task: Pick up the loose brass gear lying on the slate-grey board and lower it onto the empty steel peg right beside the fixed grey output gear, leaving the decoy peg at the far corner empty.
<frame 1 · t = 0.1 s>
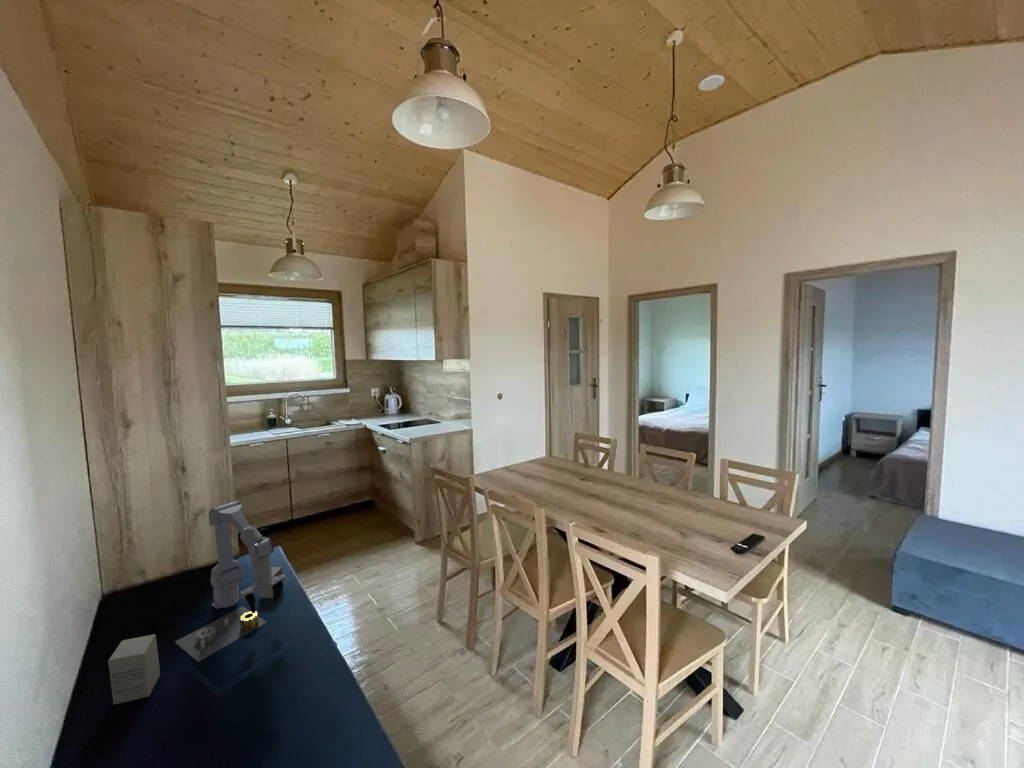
hand: (264, 606, 159), 10 cm above the table, fingers open, 7 cm apart
brass gear: (249, 625, 161), point 1 cm above the table, touching gear board
gear board: (222, 635, 158), on the table
small box: (272, 595, 181), on the table
supplement box: (137, 690, 134), on the table
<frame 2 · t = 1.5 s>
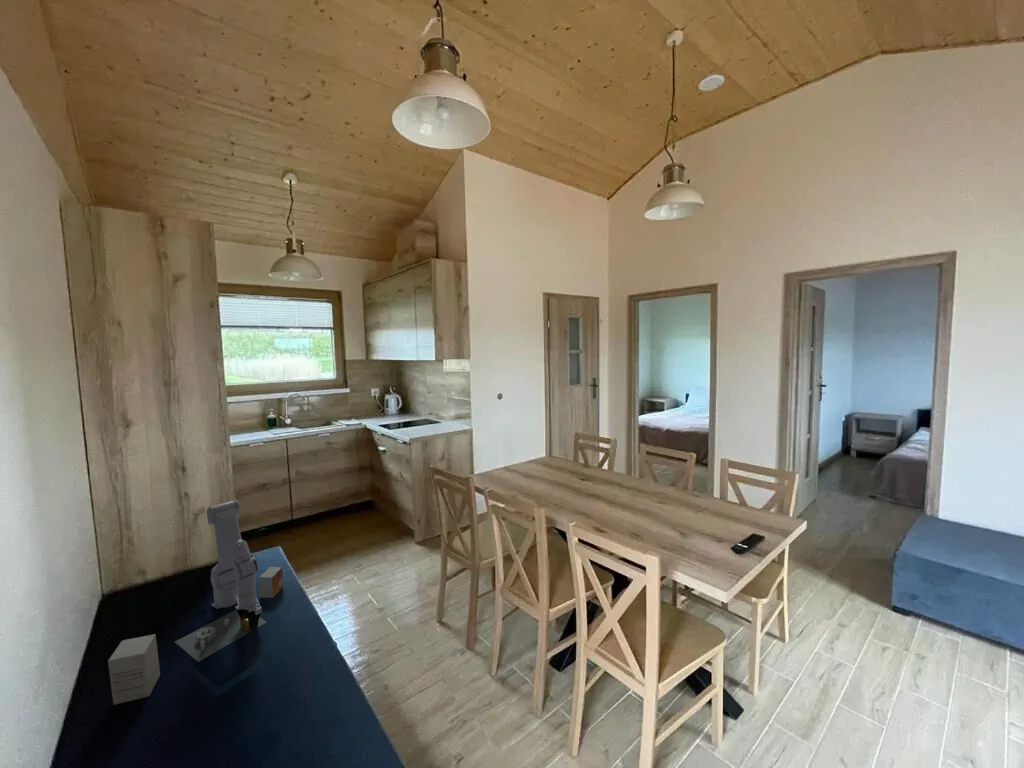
hand: (249, 624, 161), 2 cm above the table, fingers closed on brass gear, 6 cm apart
brass gear: (249, 625, 161), point 1 cm above the table, touching gear board, gripper
everything else where it was.
when the fingers open (4 cm above the table, at t = 5.3 s): brass gear drops 1 cm, resting on gear board.
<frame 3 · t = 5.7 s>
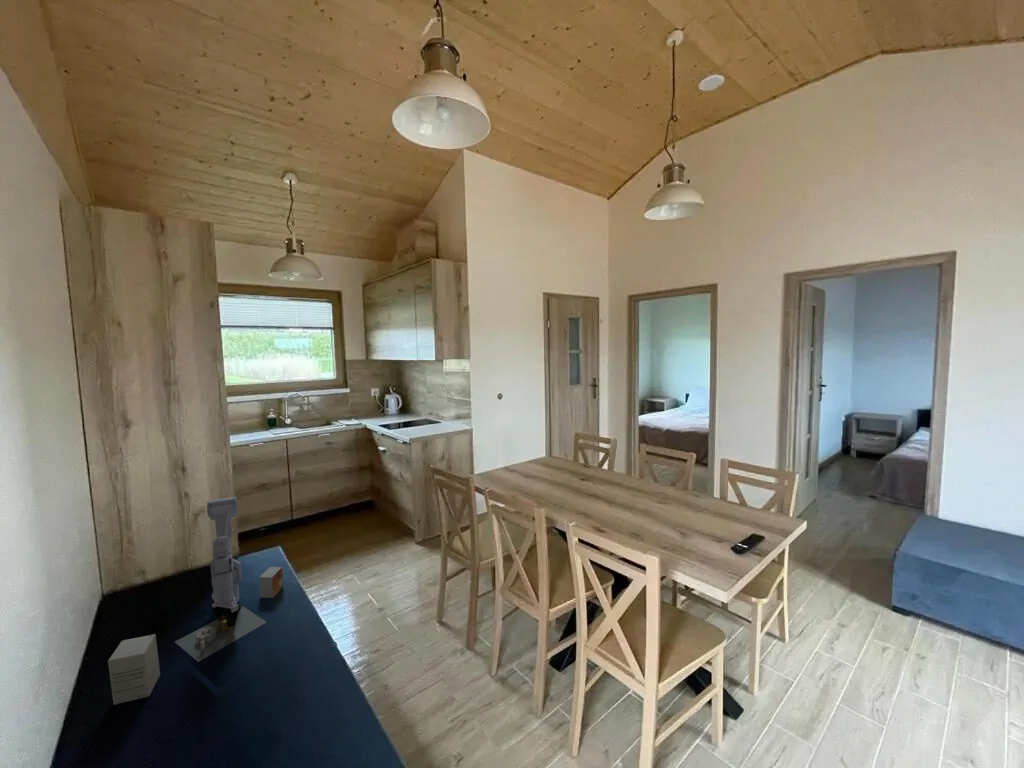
hand: (226, 622, 159), 4 cm above the table, fingers open, 7 cm apart
brass gear: (226, 627, 160), point 1 cm above the table, touching gear board
everything else where it was.
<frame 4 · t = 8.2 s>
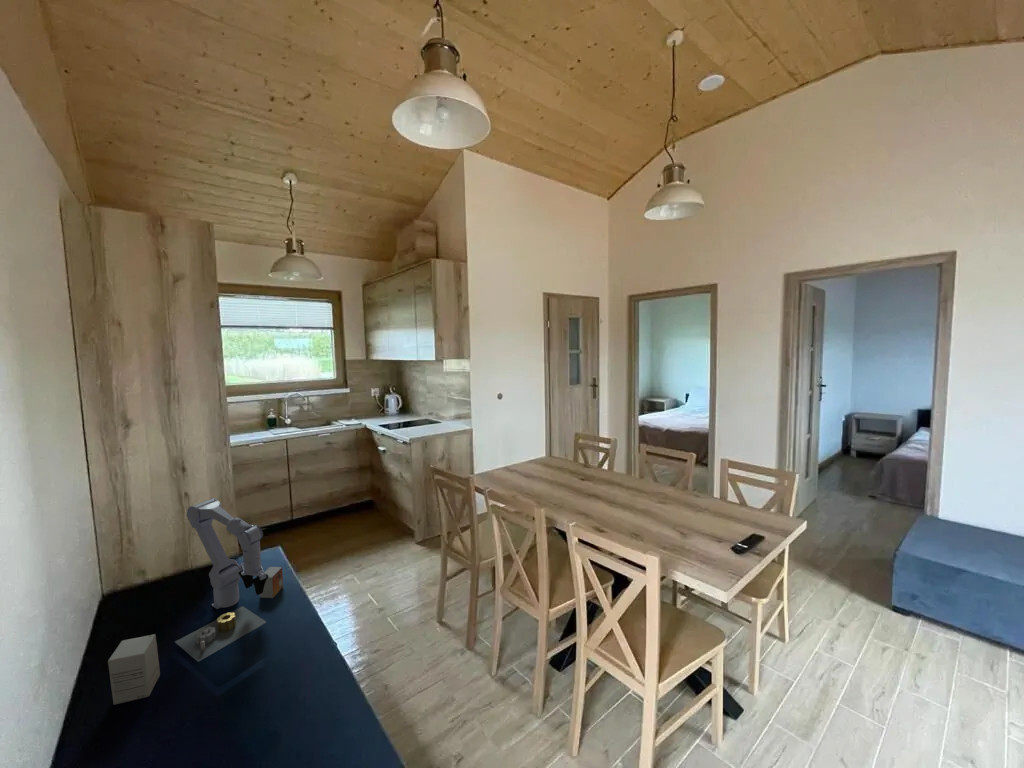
hand: (254, 590, 168), 10 cm above the table, fingers open, 7 cm apart
nothing on the table moved.
at the end: brass gear 0.1 cm from the target spot on the gear board, point 1.5 cm above the gear board's base; brass gear tilted 0°; the gripper is holding nothing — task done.
